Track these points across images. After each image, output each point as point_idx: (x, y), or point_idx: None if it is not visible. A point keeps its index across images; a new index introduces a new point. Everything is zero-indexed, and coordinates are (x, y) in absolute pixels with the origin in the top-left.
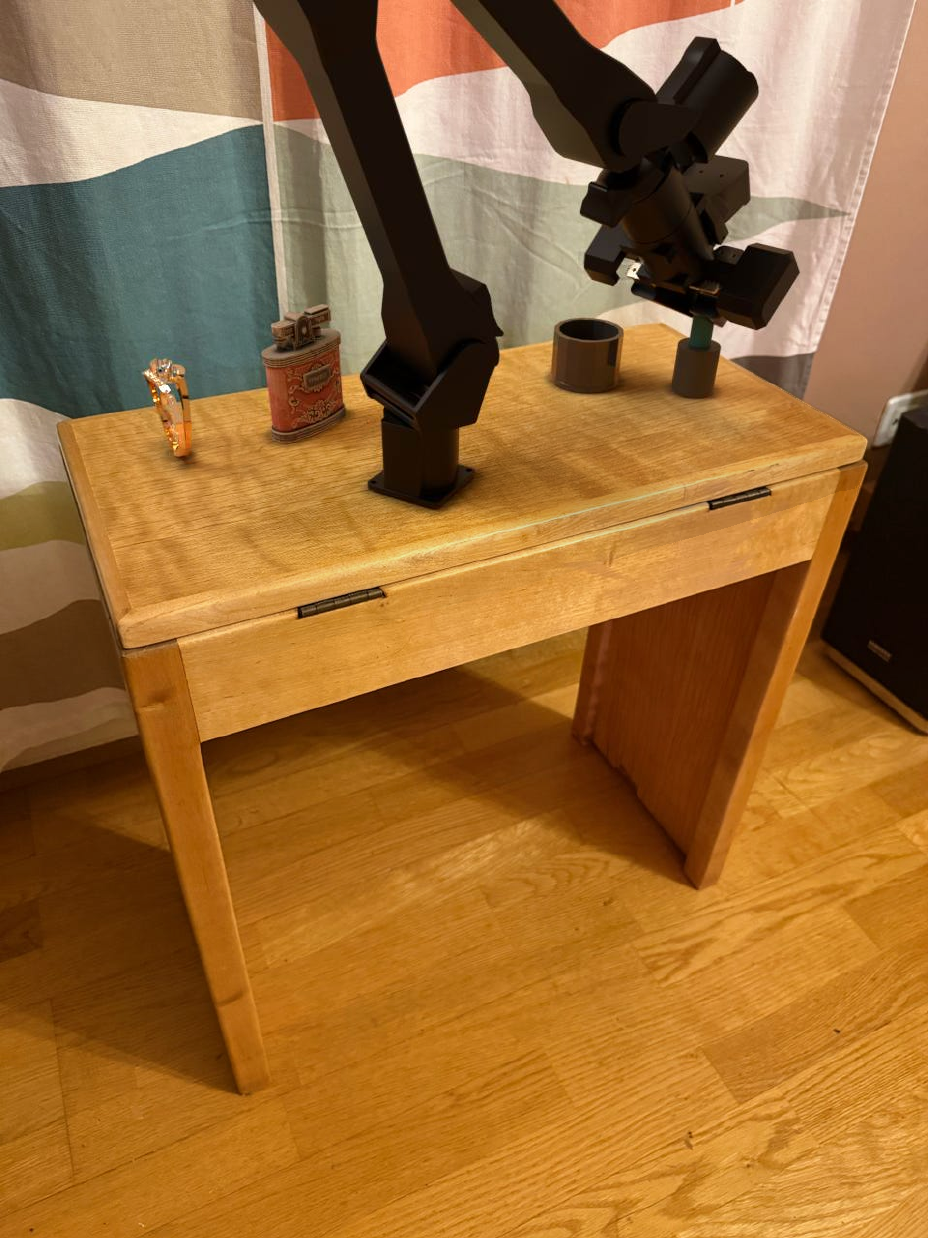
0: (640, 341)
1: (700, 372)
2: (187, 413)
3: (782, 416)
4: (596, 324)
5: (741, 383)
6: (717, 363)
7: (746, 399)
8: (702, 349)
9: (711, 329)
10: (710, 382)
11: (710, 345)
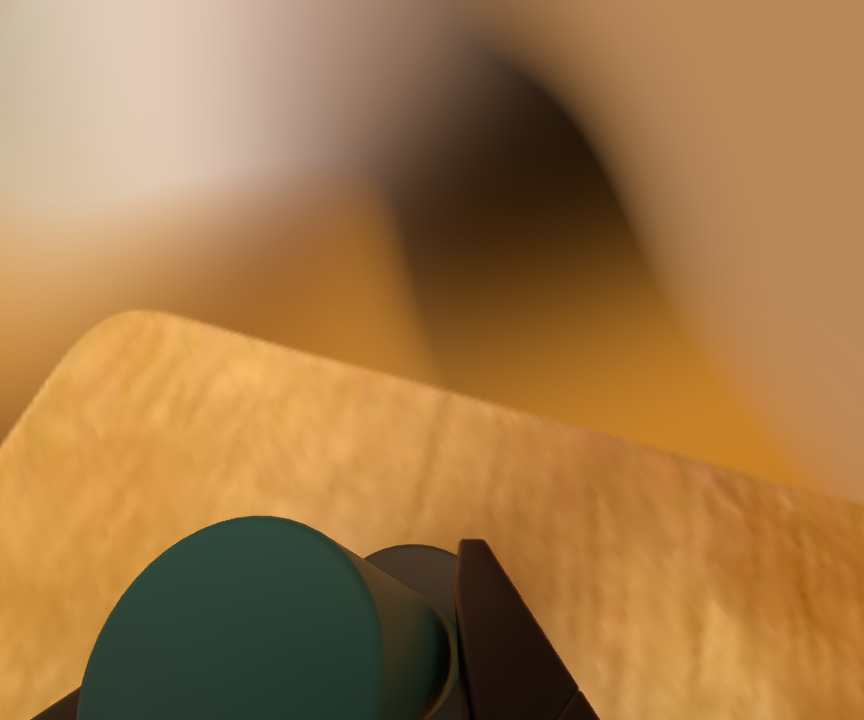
0: (113, 423)
1: None
2: None
3: (786, 601)
4: None
5: (512, 463)
6: None
7: (608, 567)
8: (457, 711)
9: (454, 660)
10: None
11: (453, 624)
